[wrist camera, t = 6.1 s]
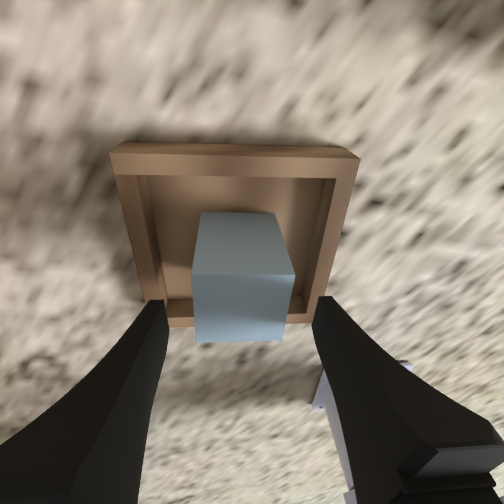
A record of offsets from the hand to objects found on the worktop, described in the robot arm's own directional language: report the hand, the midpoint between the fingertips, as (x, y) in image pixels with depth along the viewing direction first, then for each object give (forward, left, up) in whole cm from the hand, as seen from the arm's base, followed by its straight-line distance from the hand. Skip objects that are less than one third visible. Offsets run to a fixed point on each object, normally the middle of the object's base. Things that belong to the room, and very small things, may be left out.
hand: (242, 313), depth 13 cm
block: (0, 0, -6) cm, 6 cm away
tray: (0, 0, -7) cm, 7 cm away
